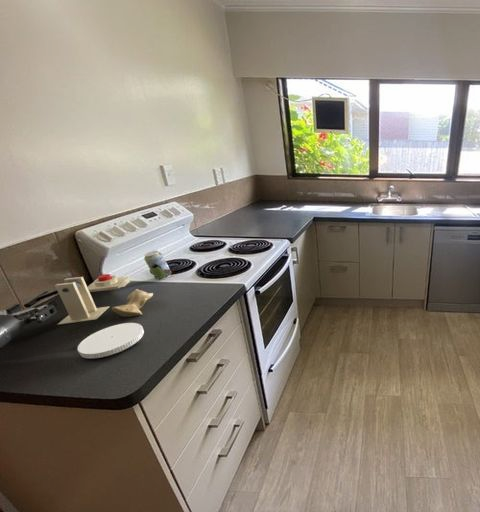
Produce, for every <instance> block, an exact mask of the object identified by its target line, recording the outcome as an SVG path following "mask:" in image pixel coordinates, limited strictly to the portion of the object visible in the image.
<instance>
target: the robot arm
mask: <svg viewBox="0 0 480 512" xmlns="http://www.w3.org/2000/svg"><path fill="white" fill-rule="evenodd" d="M57 306H59V304H58V302H57V300H56V299H50V300H48V301H47V302H46V303H44V304H43V305H41V306H38V307H29V308H27V309H25V310H23V308H22V306H21V305H20V303H15V304H13V305H11V306H10V307H8V308H6V309H1V310H0V349H2V348H3V347H4V346H5V345H7V344H9V343H10V342H11V341H13V340H14V339H15V338H16V337H18V336H19V335H21V333H22V332H23V330H24V327H25V326H27V325H28V324H31V323H32V322H37V323H38V324H42V323H43V322H45V321H47V320H48V319H50V318H52V317H53V316H54V315H55V314H57V313H58V311H57V309H56V307H57ZM31 312H32V314H33V315H34V316H32V315H31Z"/></svg>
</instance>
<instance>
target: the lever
mask: <svg viewBox="0 0 480 512" xmlns="http://www.w3.org/2000/svg"><path fill="white" fill-rule="evenodd" d="M72 282H75V284H76V286H77V288H79V287H80V286H81V285H80V284H79V283H78V282H77V281H76V280H74V281H71V282H68V283H72ZM58 294H59V293H58V291H57V289H55V290H52V291H48V290H45V291H43V292H41V293H40V294H38V295H37V296H35V297H34V298H31V300H29V301H27V302H26V303H24V304H23V307H24V308H26V309H30V308H32V307H33V306H34V305H36V304H37V303H39V302H41V301H42V300H44V299H47V298H49V297H52V296H55V295H58Z"/></svg>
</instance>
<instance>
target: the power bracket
mask: <svg viewBox="0 0 480 512" xmlns="http://www.w3.org/2000/svg"><path fill="white" fill-rule="evenodd" d="M74 280H76V281H77V282H78V283H79V284H80V285H81V286H80V287H79V288H77V286H76V284H75V282H72V283H68V282H71V281H74ZM63 281H64V283H57V284H55V285H54V287H55V290H57V291H58V293H57V294H58V296H59V297H60V299H61V301H62V303H63V306H64V308H65V310H66V312H67V314H68V315H67V316H66V317H64V318H63V319H62V320H60V322H59V323H57V324H56V325H57V326H58V325H65V324H72V323H79V322H88V321H93V320H94V321H95V320H97V319H99V317H101V316H102V315H103V314H104V313H105V312H106V311H107V310H108V309H109V308H110V306H102V307H101V306H100V307H97V306H96V304H95V301H94V299H93V297H92V295H91V292H89V290H88V288H87V287H88V285H87V283H86V281H85V279H84V276H77V277H68V278H67V277H66V278H65V279H64V278H63Z"/></svg>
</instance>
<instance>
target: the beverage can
mask: <svg viewBox="0 0 480 512" xmlns="http://www.w3.org/2000/svg"><path fill="white" fill-rule="evenodd" d="M143 259H144V262H145V263H146V265H147V267H148V268H149V270H150V271H151V273H152V275H153V277H154V278H155V280H159V281H160V280H165V279H168V278H169V277H170V276H171V275H172V274H173V272H172V270H171V269H170V266H169V265H168V262H167V261H166V259H165V257H164V256H163V253H161V251H160V252H159V250H152V251H149V252H147V253H145V254H144V258H143Z"/></svg>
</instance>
